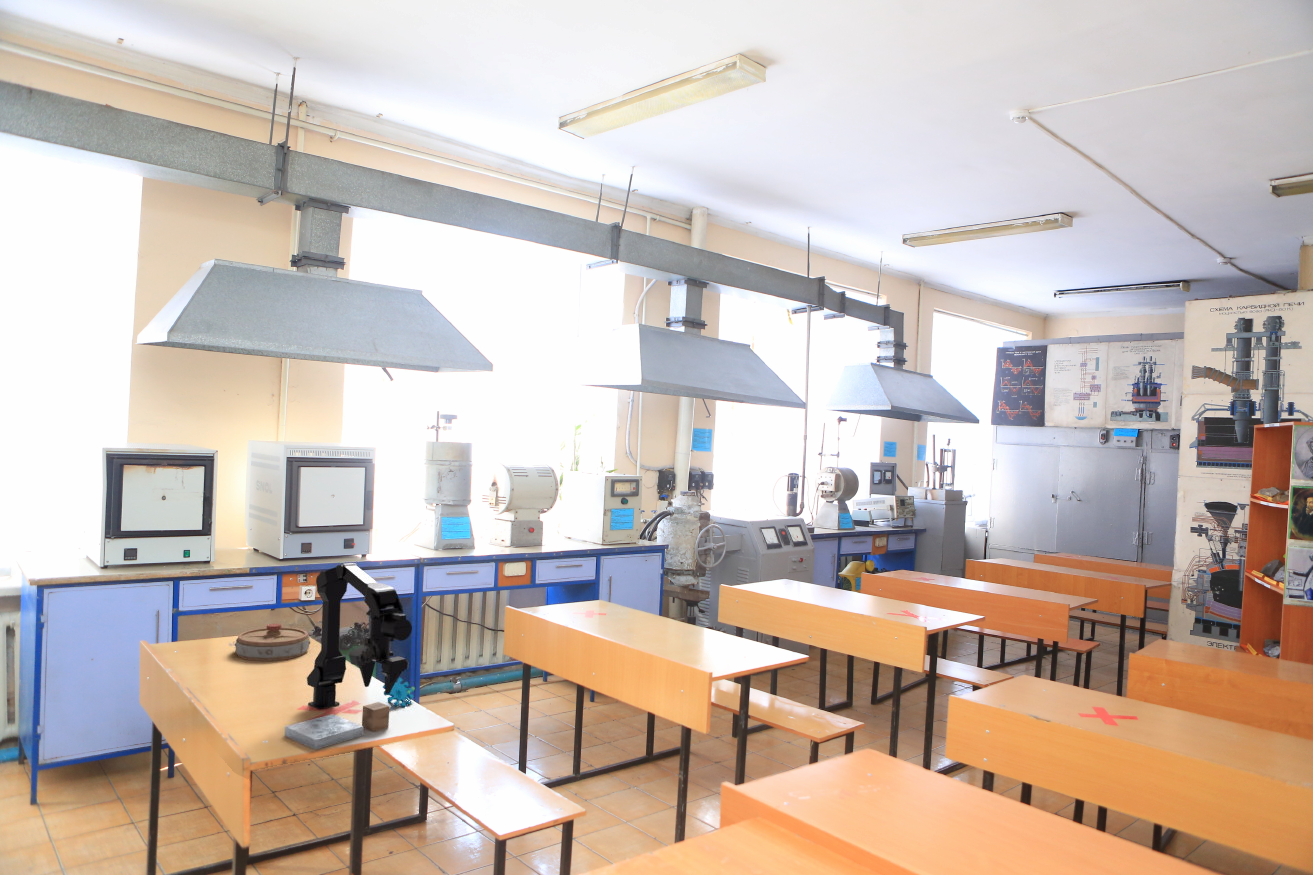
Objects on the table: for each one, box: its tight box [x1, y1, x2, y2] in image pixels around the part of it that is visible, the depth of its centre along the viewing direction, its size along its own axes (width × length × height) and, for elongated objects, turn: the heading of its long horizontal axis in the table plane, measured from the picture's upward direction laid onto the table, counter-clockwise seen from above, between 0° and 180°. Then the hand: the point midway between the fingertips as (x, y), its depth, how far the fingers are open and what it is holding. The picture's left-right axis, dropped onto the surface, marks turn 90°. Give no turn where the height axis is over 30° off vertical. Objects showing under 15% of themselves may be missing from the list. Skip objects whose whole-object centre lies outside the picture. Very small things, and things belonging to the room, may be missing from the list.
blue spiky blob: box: [382, 677, 416, 708], centre depth 253 cm, size 11×6×10 cm
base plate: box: [284, 713, 364, 751], centre depth 223 cm, size 14×14×2 cm
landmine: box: [234, 623, 311, 662], centre depth 301 cm, size 24×24×10 cm
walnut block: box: [361, 701, 391, 733], centre depth 232 cm, size 5×5×6 cm
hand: (377, 690), depth 232 cm, fingers open, 9 cm apart
